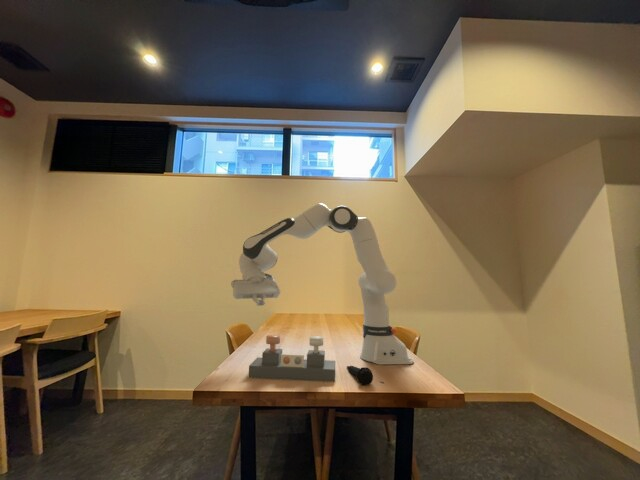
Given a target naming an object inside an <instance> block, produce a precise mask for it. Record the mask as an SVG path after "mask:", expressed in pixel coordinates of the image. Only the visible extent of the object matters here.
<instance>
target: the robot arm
mask: <svg viewBox="0 0 640 480" xmlns="http://www.w3.org/2000/svg"><path fill="white" fill-rule="evenodd" d="M326 226H327V227H328V228H330V229H331V230H332V231H333V232H336V233H339V234H341V233H346V232H347V233H349V235H350V236H351V239H352V243H353V248H354V252H355V255H356V258H357V259H356V260H357V261H358V263H359V264H360V265H361V267H362V269H363V273H361V274H360V276H359V277H358V285H359V287H360V292H361V293H360V294H361V298H362V304H363V325H362V347H361V352H360V356H359V358H361V360H363V361H366V362H370V363H374V364H376V365H411V364H413V363H414V358H413V356H411V355H410V354H409V353H408V350H407V346H406V344H405V343H404V342H402V341H401V340H400V339H399V338H398V337H397V336H395V335H394V334H396V333H397V329H396V328H395V327H392V326H391V325H390V315H389V314H390V311H389V310H390V309H389V308H390V307H389V306H388V304H387V302H386V297H385V295H388V294H390V293H393V292H394V290H395V289H396V287H397V278H396V276H395V275H394V274H393V272H392V271H391V270H390V269H389V267H388V265H387V263H386V261H385V258H384V257H383V255H382V252H381V248H380V244H379V241H378V238H377V234H376V231H375V228H374V226H373V225H372V222H371V220H370V219H369V218H368V217H359V216H358V215H357V214H356V213H355V212H354V211H353V210H352V209H350V208H349V207H348V206H345V205H338V206H336V207H334V208H333V209H330V208H329V207H328V206H327V205H326V204H324V203H321V202H320V203H317V204H314V205H313V206H310V208H308V209H306V210H304V211H303V212H302V213H301V214H299V215H297V216H295V217H292V218H290V217H288V218H284V219H282V220H280V221H278V222H277V223H274V224H273V225H271V226H269V227H268V228H266V229H264V230H263V231H261V232H260V233H257V234H255V235H252V236H250V237H248V238H247V239H245V241H244V242H243V246H242V253H241V254H240V255H239V259H238V265H239V269H240V273H241V275H242V276H241V277H242V279H234V280H232V281H231V282H230V286H231V287H232V296H233V298H234V299H236V300H244V299H246V300H247V299H248V300H249V299H252V301H253V302H254V303H255V304H256V306H257V307H259V306H265V304H266V301H265V299H277V298H278V297H280V294H281V289H280V286H279V285H278V282H277V281H276V280H275V276H274V275H273V274H269V273H266V272H267V271H269V270H270V269H272V268H274V267H275V266H276V264H277V262H278V259H279V257H278V253H276V251H275V250H273V249H272V247H270V246H269V244H270V243H271V242H272V241H273V242H274V240H277V239H278V238H279V237H281V236H283V235H284V236H285V235H289V236H292V237H295V238H297V239H303V240H305V239H306V240H307V239H309V238H311V237H312V236H313V235H315V234H316V233H317V232H319V231H320V230H322V228H324V227H326Z"/></svg>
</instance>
